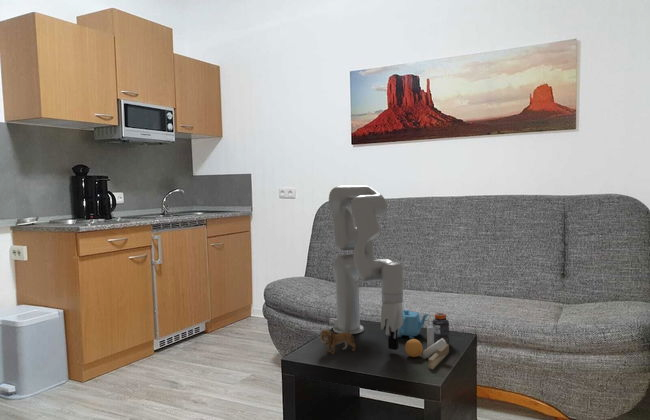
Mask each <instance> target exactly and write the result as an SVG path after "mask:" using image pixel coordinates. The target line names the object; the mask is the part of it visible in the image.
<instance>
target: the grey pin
mask: <svg viewBox="0 0 650 420" xmlns="http://www.w3.org/2000/svg"><path fill="white" fill-rule="evenodd" d="M426 338H427V339H426V340H427V341H426V344H427V347H426V349H427V348H428V347H430V346H431V345H433V344H434V327H433V325H432V326H431V325H427V327H426Z"/></svg>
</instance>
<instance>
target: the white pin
mask: <svg viewBox="0 0 650 420" xmlns="http://www.w3.org/2000/svg"><path fill="white" fill-rule="evenodd" d="M445 345H446V341H445V340H444V339H443V338H441V339H440V340H439V341H437V342H436V343H434V344H433V345H431V346H430V347H428V348H427V347H426V349H423V350H422V353H421V354H422V356H423V357H424V358H428V357H430V356H431V355H434V354H435V353H436V352H437V351H438V350H439V349H440V348H442V347H443V346H445Z"/></svg>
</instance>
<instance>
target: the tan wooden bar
mask: <svg viewBox="0 0 650 420" xmlns="http://www.w3.org/2000/svg"><path fill="white" fill-rule="evenodd" d="M449 353H450V343H449V344H446V345H445V346H443V347H442V348H440V349H439V350H437V351H436V352H434V353H433V354H432V356H431V357H430V356H429V358H428V361H427V362H428V370H434V369H435V368H436V367H437V366H438V365H439V364H440V363H441V362H442V361H443V360H444V359H445V357H446V356H447V355H448V354H449Z"/></svg>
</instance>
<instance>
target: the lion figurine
mask: <svg viewBox="0 0 650 420" xmlns="http://www.w3.org/2000/svg"><path fill="white" fill-rule="evenodd" d="M319 339H320V342H322V344H324V346H327V349H328V350H327V351H326V353H330V354H331V355H335V350H336V349H335V346H336V345H340V344H342V343H344V347H342V350H346V349H347V347H348V346H351V347H352V349H351V352H355V351H356V348H357V347H358V346H357V345H356V343H355V339H354V336H353V334H350V333H348V332H344V333H340V334H339V333H336V332H334V331H332V330H329V329H328V328H325V329H322V330H321V331H320V334H319Z"/></svg>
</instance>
